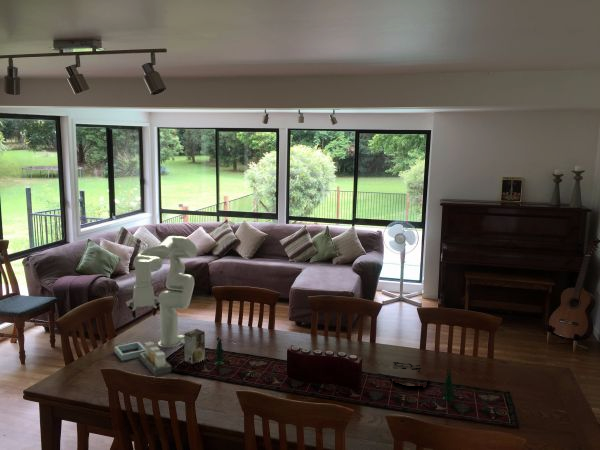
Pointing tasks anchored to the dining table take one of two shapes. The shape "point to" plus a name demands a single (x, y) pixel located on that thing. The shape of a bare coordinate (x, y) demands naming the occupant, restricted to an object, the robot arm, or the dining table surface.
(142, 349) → the slate tray
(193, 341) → the coffee box
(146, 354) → the back fuse
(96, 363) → the dining table surface
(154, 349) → the orange fuse
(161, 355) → the front fuse
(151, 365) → the gray rectangular tray
